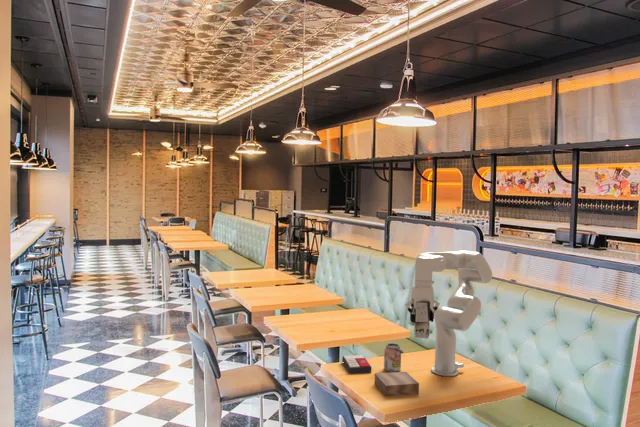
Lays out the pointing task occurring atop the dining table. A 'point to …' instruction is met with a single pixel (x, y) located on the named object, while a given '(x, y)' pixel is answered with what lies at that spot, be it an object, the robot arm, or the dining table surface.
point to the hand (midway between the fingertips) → (421, 321)
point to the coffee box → (422, 319)
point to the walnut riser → (396, 384)
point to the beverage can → (392, 357)
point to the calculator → (356, 364)
